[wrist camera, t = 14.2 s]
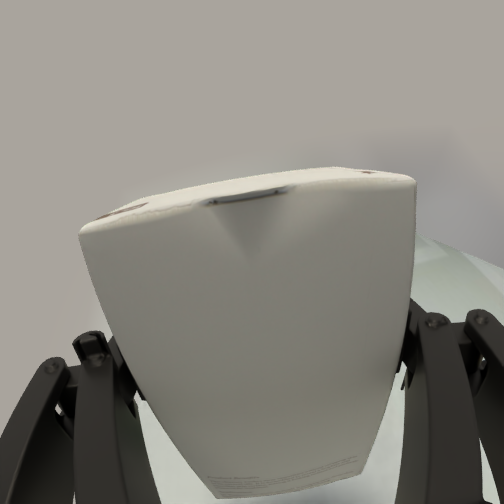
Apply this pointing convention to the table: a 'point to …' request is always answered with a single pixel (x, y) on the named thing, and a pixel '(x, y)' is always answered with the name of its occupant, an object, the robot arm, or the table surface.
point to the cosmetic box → (263, 318)
